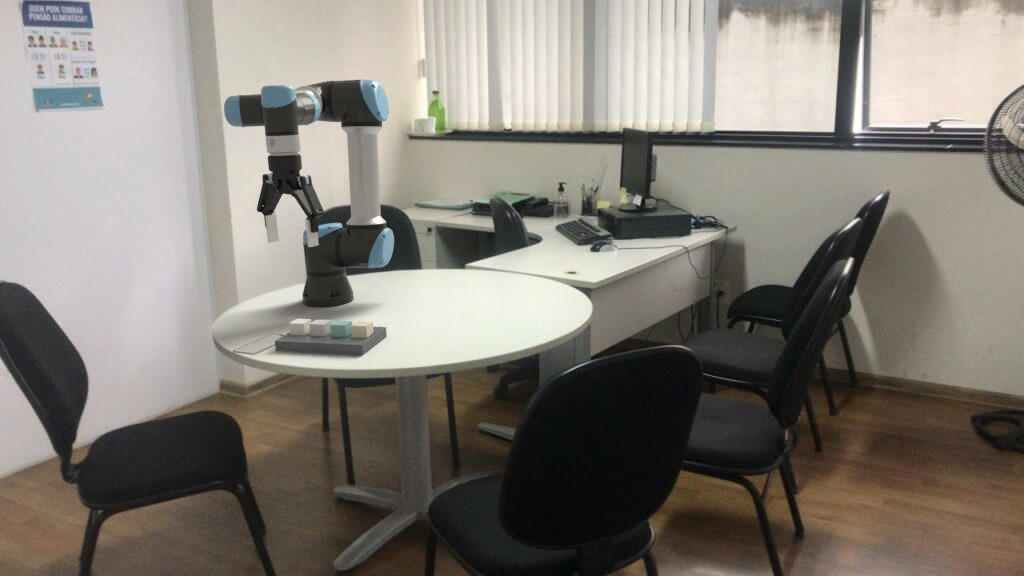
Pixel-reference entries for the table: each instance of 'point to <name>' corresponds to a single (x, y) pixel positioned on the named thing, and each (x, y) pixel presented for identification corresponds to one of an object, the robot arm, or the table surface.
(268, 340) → the smartphone
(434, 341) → the table surface
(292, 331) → the key
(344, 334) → the key
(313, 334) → the key
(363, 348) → the keypad
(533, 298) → the table surface
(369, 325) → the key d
